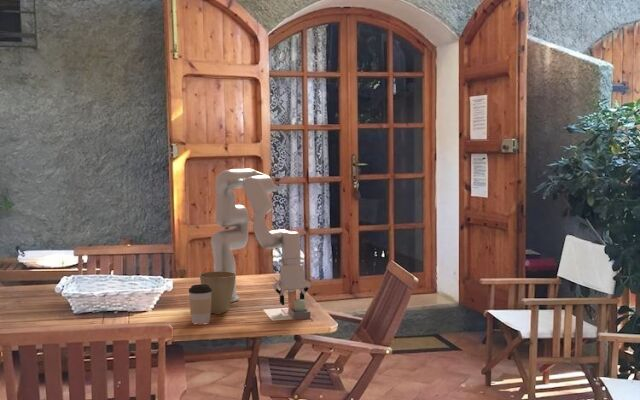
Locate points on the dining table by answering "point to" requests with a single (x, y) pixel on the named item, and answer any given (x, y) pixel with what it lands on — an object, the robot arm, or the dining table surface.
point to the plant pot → (219, 289)
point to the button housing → (300, 314)
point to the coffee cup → (200, 303)
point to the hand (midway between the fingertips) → (292, 303)
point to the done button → (299, 305)
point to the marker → (291, 299)
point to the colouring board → (278, 314)
